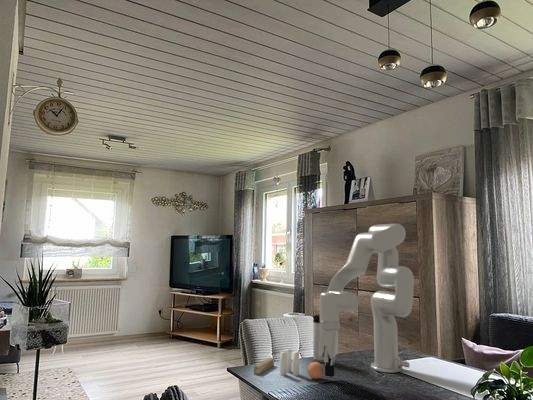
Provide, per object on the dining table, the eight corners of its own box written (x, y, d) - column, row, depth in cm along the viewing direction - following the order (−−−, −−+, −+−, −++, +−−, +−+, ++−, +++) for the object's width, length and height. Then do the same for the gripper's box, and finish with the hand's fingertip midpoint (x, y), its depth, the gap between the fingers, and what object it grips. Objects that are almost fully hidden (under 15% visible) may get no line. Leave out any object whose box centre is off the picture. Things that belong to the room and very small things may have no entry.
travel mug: (327, 363, 172) (327, 315, 174) (312, 362, 173) (312, 315, 175) (328, 359, 178) (328, 313, 180) (313, 358, 179) (313, 313, 182)
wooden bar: (273, 365, 167) (273, 358, 167) (258, 374, 154) (258, 366, 155) (269, 365, 168) (269, 357, 168) (253, 374, 155) (253, 366, 156)
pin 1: (287, 374, 155) (287, 352, 156) (284, 376, 153) (285, 353, 154) (281, 373, 156) (282, 351, 157) (279, 375, 154) (279, 352, 155)
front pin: (300, 374, 155) (300, 352, 157) (297, 376, 153) (297, 353, 154) (294, 373, 157) (294, 351, 158) (292, 375, 154) (292, 352, 155)
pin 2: (292, 371, 160) (292, 349, 161) (290, 372, 157) (290, 350, 159) (286, 370, 161) (287, 348, 162) (284, 371, 159) (284, 349, 160)
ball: (317, 356, 154) (306, 366, 155) (314, 361, 148) (302, 371, 150) (327, 369, 153) (316, 378, 154) (325, 374, 147) (313, 384, 148)
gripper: (325, 321, 159) (325, 369, 157) (313, 327, 146) (313, 379, 144) (344, 323, 156) (344, 372, 154) (333, 329, 143) (334, 383, 140)
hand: (329, 375), depth 149 cm, fingers closed
